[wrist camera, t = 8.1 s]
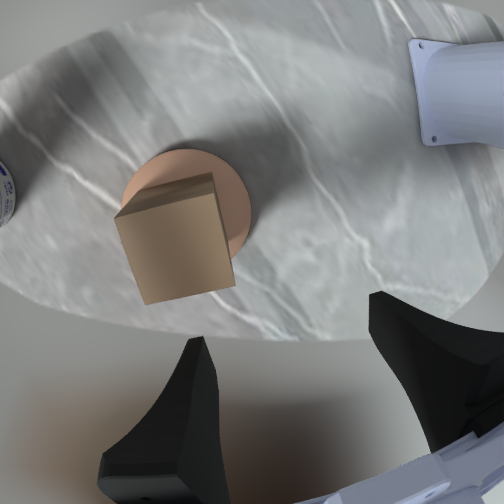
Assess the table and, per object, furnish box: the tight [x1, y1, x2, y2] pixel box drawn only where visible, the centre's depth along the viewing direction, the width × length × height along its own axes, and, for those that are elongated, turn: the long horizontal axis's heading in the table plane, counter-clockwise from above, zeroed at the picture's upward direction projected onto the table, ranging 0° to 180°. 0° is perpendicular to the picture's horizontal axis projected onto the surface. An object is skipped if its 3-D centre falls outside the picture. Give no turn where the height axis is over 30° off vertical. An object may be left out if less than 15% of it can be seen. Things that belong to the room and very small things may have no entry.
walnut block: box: [114, 172, 236, 305], centre depth 17 cm, size 4×4×6 cm
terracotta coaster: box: [121, 148, 251, 259], centre depth 20 cm, size 8×8×1 cm
